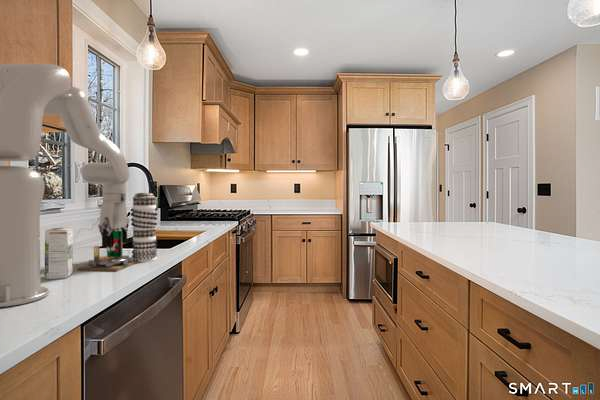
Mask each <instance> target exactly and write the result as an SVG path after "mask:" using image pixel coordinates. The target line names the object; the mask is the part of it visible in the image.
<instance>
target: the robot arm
mask: <svg viewBox="0 0 600 400" xmlns="http://www.w3.org/2000/svg"><path fill="white" fill-rule="evenodd" d="M44 116H59V118H60V119H61V121H62V124H63V126H64V128H65V130H66V132H67V134H68V137H69V138H70V140H71V142H72V143H74V144H76V145H78V146H79V147H83V148H85V149H88V150H90V151H92V152H93V151H94V152H95V153H97V154H99V155H101V156H102V157H104V158H105V159H106V160H107V161H108V162H89V163H86V164H85V165H84V166H82V168H81V172H80V174H81V178H82V179H83V180H84V182H86V183H87V184H89V185H102V202H101V207H100V213H99V214H100V216H99V223H98V224H97V226H98V229H99V233H100V236H101V246H102V247H104V248H107V247H111V246H112V236H110V234H111V232H112V230H114V229H118V228H121V230H122V243H127V242H128V231H129V229H128V228H129V223H130V218H128V210H127V203H126V202H127V194H126V193H127V190H126V189H127V184H126V183H127V182H128V180H129V178H130V170H129V166H128V163H127V160H126V157H125V155H124V153H123V151H122V150H121V148H120V147H119V146H117V145H116V144H115V143H114V142H113V141H112V140H111V139H109V137H107V136H105V135H104V134H103V133H102V132H101V131H100V128H99V125H98V124H97V123H98V122H97V121H96V118H95V115H94V113H93V111H92V108H91V106H90V103H89V99H88V97H87V96H86V94H85V92H84V91H83V90H82V89H81V88H78V87H76V86H72V85H71V76H70V73H69V72H68V70H66V69H65V68H64V67H62V66H60V65H57V64H53V63H3V64H2V63H1V64H0V162H25V161H26V162H27V161H32V160H33V159H36V158H37V157H38V155H39V153H40V149H41V142H42V133H43V132H42V131H43V123H44V122H43V121H44ZM45 185H46V184H45V180H44V178H43V176H42V175H41V174H40V173H39V172H38V171H36V170H35V169H33V168H31V167H30V168H29V167H26V166H19V165H0V308H4V307H5V308H7V307H12V306H19V305H23V304H24V305H25V304H29V303H32V302H36V301H38V300H42V299H43V298H45V297H47V296H48V295H49V294H50V293H49V288H48V287H44V286H42V285H41V282H42V281H41V230H40V229H41V227H40V226H41V223H40V222H41V220H40V219H41V208H42V203H43V199H44V194H45V188H46V187H45ZM107 230H108V231H107Z"/></svg>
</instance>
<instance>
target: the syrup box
mask: <svg viewBox="0 0 600 400" xmlns="http://www.w3.org/2000/svg"><path fill="white" fill-rule="evenodd" d="M73 250H74V228H72V227H54V228H53V227H52V228H49V229H47V230H44V280H45V281H46V280H57V279H58V280H59V279H68V278H69V277H70V276H71V275H72V274H73V271H74V269H73V268H74V267H73V262H74V261H73V260H74V256H73V254H74V251H73Z"/></svg>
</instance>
